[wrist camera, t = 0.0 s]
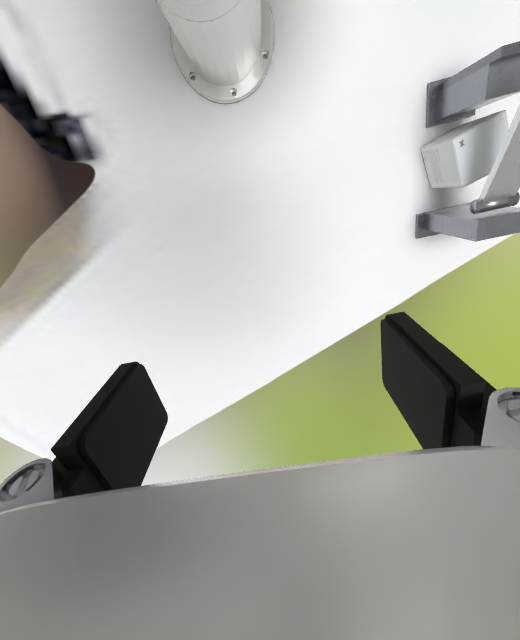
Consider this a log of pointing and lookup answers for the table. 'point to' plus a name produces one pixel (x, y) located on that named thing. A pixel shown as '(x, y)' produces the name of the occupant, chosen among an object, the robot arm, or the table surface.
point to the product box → (465, 152)
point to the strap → (503, 174)
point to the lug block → (474, 86)
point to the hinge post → (468, 222)
